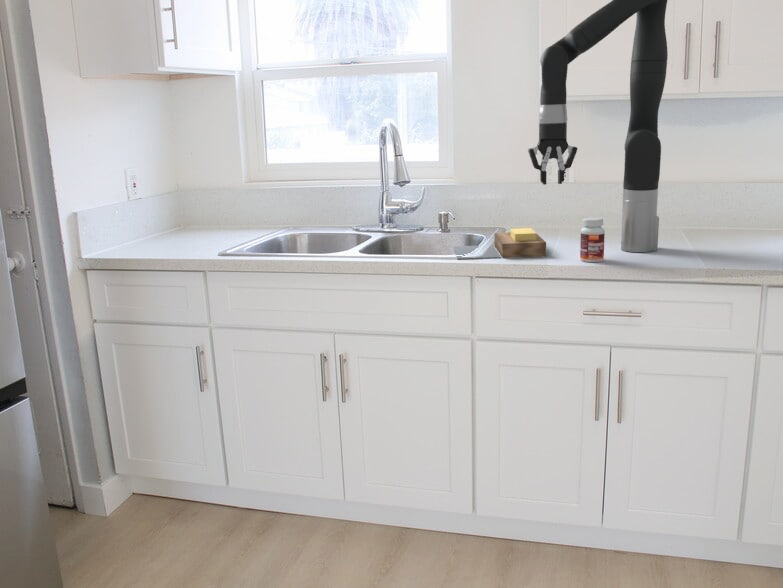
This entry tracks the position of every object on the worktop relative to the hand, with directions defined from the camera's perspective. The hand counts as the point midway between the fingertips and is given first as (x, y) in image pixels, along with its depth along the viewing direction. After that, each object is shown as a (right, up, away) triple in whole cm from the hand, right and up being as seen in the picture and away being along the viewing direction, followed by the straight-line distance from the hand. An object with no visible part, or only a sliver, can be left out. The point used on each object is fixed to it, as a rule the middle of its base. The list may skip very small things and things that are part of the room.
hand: (552, 183), depth 210 cm
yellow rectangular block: (-7, -15, +4) cm, 17 cm away
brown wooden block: (-8, -19, +6) cm, 21 cm away
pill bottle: (+9, -22, -10) cm, 26 cm away
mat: (-21, -19, +6) cm, 29 cm away
